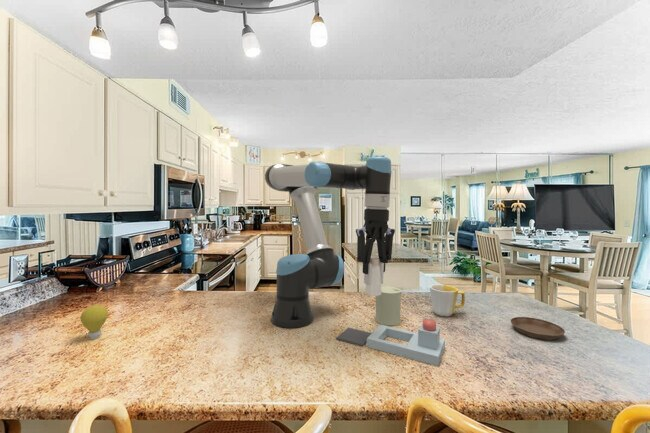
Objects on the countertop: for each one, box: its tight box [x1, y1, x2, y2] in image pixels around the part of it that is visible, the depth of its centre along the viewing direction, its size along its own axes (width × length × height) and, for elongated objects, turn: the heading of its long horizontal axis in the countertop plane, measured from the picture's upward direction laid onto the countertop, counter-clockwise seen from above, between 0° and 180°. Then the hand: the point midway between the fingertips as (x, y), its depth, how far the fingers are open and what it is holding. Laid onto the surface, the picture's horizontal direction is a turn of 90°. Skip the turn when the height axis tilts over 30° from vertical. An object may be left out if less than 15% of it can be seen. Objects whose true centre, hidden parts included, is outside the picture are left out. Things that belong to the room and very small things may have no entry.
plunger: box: [422, 318, 437, 331], centre depth 82 cm, size 4×4×2 cm
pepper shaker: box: [364, 257, 382, 297], centre depth 89 cm, size 5×5×11 cm
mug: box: [429, 283, 466, 317], centre depth 113 cm, size 14×10×10 cm
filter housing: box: [366, 323, 446, 367], centre depth 85 cm, size 20×12×7 cm, turn 60°
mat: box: [335, 327, 373, 347], centre depth 91 cm, size 9×9×1 cm
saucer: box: [510, 316, 566, 341], centre depth 97 cm, size 15×15×3 cm
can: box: [374, 285, 402, 327], centre depth 105 cm, size 9×9×12 cm
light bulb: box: [79, 304, 109, 340], centre depth 89 cm, size 7×7×10 cm
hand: (373, 283), depth 90 cm, fingers closed on pepper shaker, 4 cm apart
